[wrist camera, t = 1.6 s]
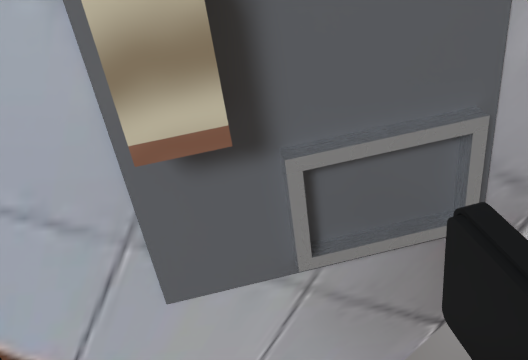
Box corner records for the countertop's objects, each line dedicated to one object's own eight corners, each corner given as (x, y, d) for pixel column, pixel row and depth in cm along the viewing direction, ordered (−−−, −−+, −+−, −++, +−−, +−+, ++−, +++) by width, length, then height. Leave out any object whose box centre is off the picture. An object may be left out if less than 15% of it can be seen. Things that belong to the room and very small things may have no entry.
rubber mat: (49, -44, 23) (48, -43, 23) (522, -125, 26) (527, -125, 25) (166, 300, 36) (166, 304, 36) (478, 225, 38) (481, 228, 38)
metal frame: (279, 148, 31) (284, 160, 29) (476, 105, 32) (489, 115, 31) (293, 257, 36) (299, 272, 34) (464, 217, 37) (475, 229, 36)
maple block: (84, -37, 24) (74, -22, 20) (189, -55, 24) (196, -43, 21) (136, 132, 28) (134, 167, 25) (222, 114, 29) (232, 146, 26)
